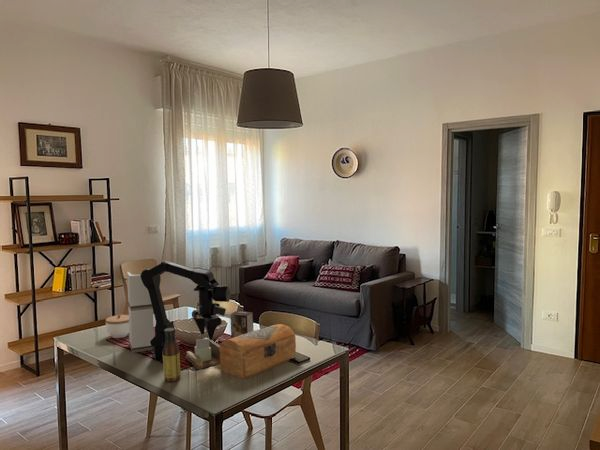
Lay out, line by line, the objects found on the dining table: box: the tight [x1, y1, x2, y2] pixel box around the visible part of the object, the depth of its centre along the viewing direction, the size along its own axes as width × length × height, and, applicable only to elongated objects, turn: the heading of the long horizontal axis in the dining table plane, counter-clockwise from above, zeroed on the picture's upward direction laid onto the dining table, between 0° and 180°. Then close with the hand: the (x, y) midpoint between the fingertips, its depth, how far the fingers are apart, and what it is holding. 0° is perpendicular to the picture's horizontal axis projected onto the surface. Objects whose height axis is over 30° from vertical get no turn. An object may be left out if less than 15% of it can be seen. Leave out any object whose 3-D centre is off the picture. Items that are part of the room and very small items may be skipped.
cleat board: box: [185, 339, 220, 370], centre depth 194 cm, size 12×14×7 cm
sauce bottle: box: [162, 327, 182, 383], centre depth 174 cm, size 7×6×20 cm
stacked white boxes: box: [126, 271, 155, 354], centre depth 210 cm, size 11×11×35 cm
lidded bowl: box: [105, 313, 129, 339], centre depth 228 cm, size 13×13×11 cm
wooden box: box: [219, 323, 297, 380], centre depth 189 cm, size 30×16×14 cm, turn 137°
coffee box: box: [230, 310, 255, 339], centre depth 210 cm, size 9×6×16 cm
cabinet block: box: [194, 337, 211, 362], centre depth 193 cm, size 5×6×8 cm
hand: (206, 336), depth 194 cm, fingers open, 9 cm apart
